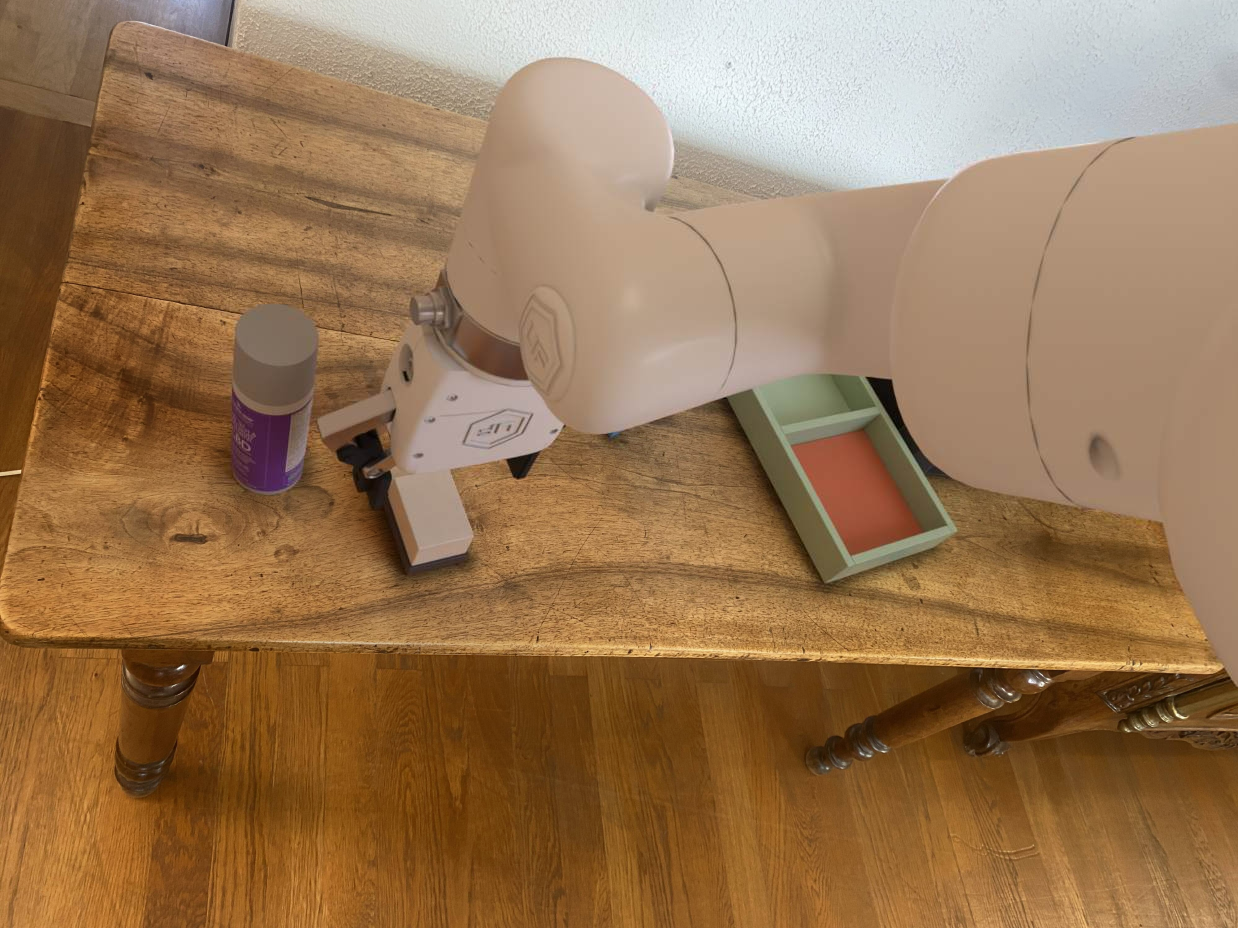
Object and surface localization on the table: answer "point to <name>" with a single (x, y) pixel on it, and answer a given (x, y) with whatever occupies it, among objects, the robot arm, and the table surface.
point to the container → (272, 396)
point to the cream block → (427, 520)
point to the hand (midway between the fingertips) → (443, 473)
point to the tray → (841, 472)
